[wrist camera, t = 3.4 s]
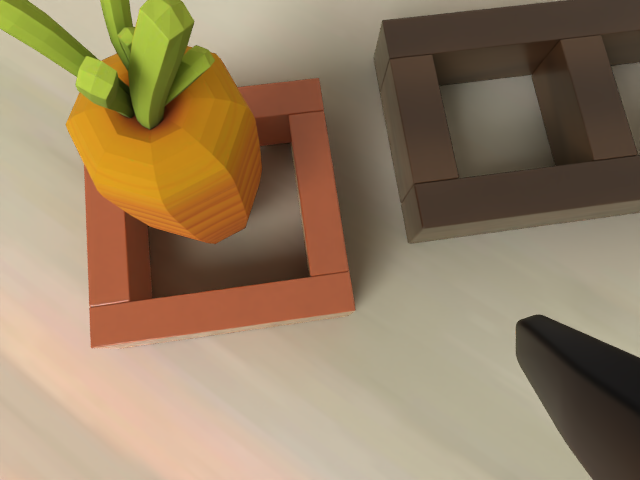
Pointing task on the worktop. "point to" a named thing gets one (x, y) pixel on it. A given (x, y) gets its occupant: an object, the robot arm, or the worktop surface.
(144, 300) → the frame
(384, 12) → the worktop surface
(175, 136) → the carrot
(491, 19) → the rack
